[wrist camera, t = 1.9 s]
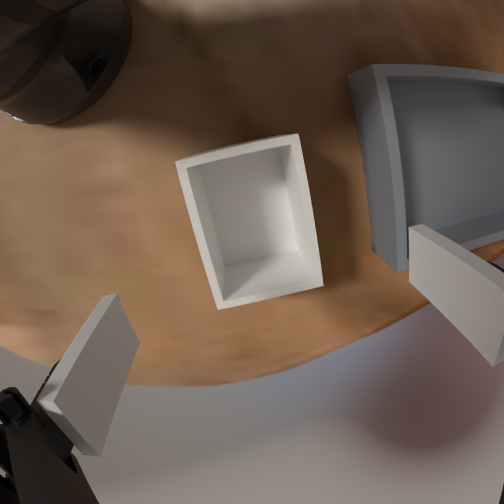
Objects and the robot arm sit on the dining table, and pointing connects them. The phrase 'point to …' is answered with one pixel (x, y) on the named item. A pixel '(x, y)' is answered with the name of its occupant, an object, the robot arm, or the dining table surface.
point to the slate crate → (430, 154)
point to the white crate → (253, 219)
